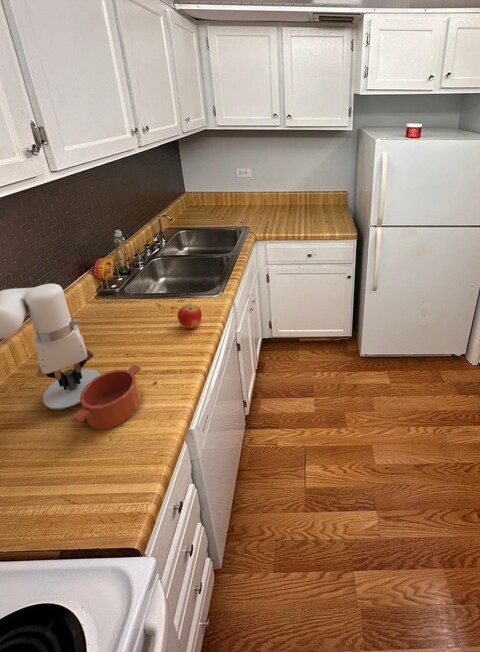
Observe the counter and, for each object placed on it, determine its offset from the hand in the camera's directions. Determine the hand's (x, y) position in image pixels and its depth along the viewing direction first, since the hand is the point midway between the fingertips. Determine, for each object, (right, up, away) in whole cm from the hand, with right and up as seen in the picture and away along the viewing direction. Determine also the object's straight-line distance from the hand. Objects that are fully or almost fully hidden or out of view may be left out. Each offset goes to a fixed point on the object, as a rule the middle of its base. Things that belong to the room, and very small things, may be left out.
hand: (72, 383), depth 93 cm
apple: (+22, +7, +30) cm, 38 cm away
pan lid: (0, -2, +1) cm, 2 cm away
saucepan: (+14, -5, -3) cm, 15 cm away
